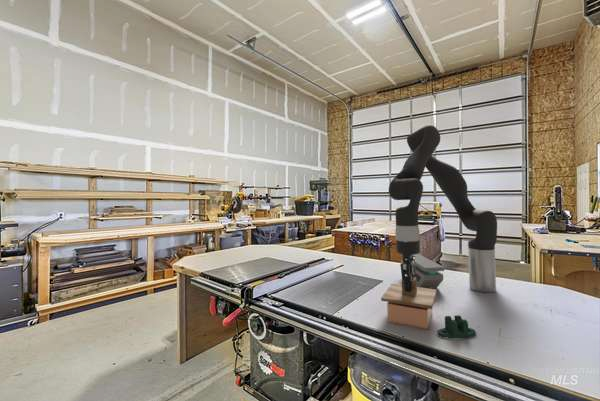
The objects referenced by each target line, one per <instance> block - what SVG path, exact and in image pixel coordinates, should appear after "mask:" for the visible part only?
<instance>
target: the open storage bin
mask: <svg viewBox="0 0 600 401" xmlns="http://www.w3.org/2000/svg"><path fill="white" fill-rule="evenodd" d="M386 306H387V322H388V321H389V322H388V323H392V322H394V323H393V324H397V323H399V324H398V325H402V324H404V325H403V326H407V325H409V326H408V327H411V326H413V327H412V328H416V327H418V328H417V329H421V328H422V330H426V329H428V330H429V327H430V323H431V319H432V315H433V308H432V309H428V308H422V307H416V306H410V305H404V304H398V303H392V302H386Z"/></svg>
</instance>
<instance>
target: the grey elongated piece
mask: <svg viewBox="0 0 600 401" xmlns="http://www.w3.org/2000/svg"><path fill="white" fill-rule="evenodd" d="M413 256H415V257H416V258H415V273H414V274H415V275H414V276H413V277H414V278H416V283H417V287H421V288H429V289H438V287H439V286H440V284H441V283H442V282H443V281H444V274H443V273H442V272H445V267H444V266H443V265H441V264H439V263H437V262H435V261H434V260H431V259H429V258H427V257H426V256H423V255H422V254H420V253H418V254H414V255H413ZM401 257H402V258H401V259H403V255H402V254H401Z"/></svg>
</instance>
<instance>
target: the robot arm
mask: <svg viewBox="0 0 600 401" xmlns="http://www.w3.org/2000/svg"><path fill="white" fill-rule="evenodd" d="M440 142H441V134H440V132H439V130H438V128H437V127H436V126H434V124H426V125H424V126H422V127H420V128H419V129H417V130H415V131H413V132H412V133H410V134H409V135H408V136H407V137H406V144H407V146H408V147H409V149H410V150H411V152H412V153H411V154H410V155H409V156H408V158H407V159H406V160H405V162H404V164H403V166H402V169H401V170H400V171H399V172H398V173H397V174H396V175H395V176H394V177H393V179H392V180H391V181H390V183H389V186H388V194H389V196H390V198H391V199H392V200H395V201H409V203H408V205H405V206H400V207H397V208H396V209H395V211H394V212H395V231H394V232H395V234H394V236H395V251H396V253H398V254H401V256H402V255H403V258H400V265H399V266H400V272H401V281H402V280H404V290H405V291H406V292H411V291H412V282H411V281H412V277H413V276H414V275H415V274H414V273H415V258H416V257H415V256H413V255H414V254H420V253H421V240H420V239H421V238H420V228H419V206H420V205H421V204H420V203H421V199H422V196H423V192H424V185H423V183H422V181H421V180H422V178H423V174H424V171H425V169H426V170H427V171H428V172H429V173H430V175H431V177H432V178H433V179H434V181H435V183H436V184H437V185H438V186H439V188H440V189H441V192H442V193H443V194H444V195H445V196H446V198H447V199H448V201H449V202H450V204H451V206H453V208H454V210H455V212H456V214H457V215H458V217H459V219H460V220H461V223H462V224H463V226H464V227H465V228H466V229H467V230H469V231H472V232H476V233H475V234H476V235H475V238H474V239H469V240H468V242H467V248H468V252H467V253H468V254H467V255H468V275H469V278H468V279H469V280H468V282H469V289H471V290H473V291H475V292H481V293H494V292H497V280H496V277H497V275H496V254H495V253H496V250H495V249H496V248H495V247H496V243H497V239H498V219H497V216H496V215H495V213H494V212H493V211H492V210H491V211H490V210H487V209H486V210H485V209H477V208H475V207H474V205H473V204H472V202H471V201H470V200H469V198H468V185H467V182H466V179H465V178H464V177H463V175H462V173H461V172H460V171H459V170H458V168H456V167H455V166H453V165H451V164H449V163H446V162H444V161H441V160H439V159H438V158H436V157H435V156H433V153H434V152H435V150H436V149H437V147H439V144H440Z"/></svg>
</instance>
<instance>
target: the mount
mask: <svg viewBox="0 0 600 401" xmlns="http://www.w3.org/2000/svg"><path fill="white" fill-rule="evenodd" d="M437 334H438V335H439V336H438V335H437ZM437 334H436V335H437V336H438V337H440V336H441V337H440V338H443V337H448V338H447V339H450V338H462V339H470V338H473V337H475V335H477V332H476V330H475V329H474V328H470V327H469V322H468V320H466V319H463V318H462V316H461V315H459V314H456V315H454V319H453V318H452V317H451V316H450V315H445V316H444V327H443V328H440V329H437Z"/></svg>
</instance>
